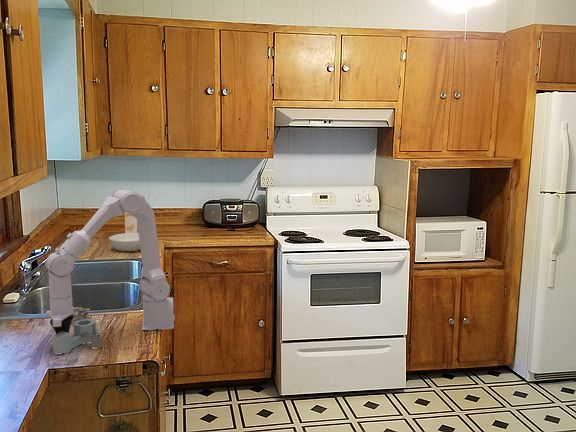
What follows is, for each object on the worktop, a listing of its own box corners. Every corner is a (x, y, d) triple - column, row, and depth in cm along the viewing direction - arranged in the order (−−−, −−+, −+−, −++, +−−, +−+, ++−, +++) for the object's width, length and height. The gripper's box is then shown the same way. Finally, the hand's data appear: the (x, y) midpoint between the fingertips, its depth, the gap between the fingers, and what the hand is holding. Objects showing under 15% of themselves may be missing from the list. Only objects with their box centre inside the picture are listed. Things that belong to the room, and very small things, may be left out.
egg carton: (49, 322, 171) (48, 309, 170) (66, 314, 178) (65, 302, 177) (76, 326, 167) (75, 313, 167) (92, 318, 174) (92, 306, 174)
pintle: (101, 339, 157) (100, 318, 156) (101, 341, 155) (100, 321, 154) (95, 339, 156) (94, 319, 155) (94, 342, 155) (93, 321, 154)
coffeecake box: (138, 242, 291) (137, 206, 288) (124, 241, 292) (123, 205, 288) (145, 236, 306) (145, 202, 303) (133, 236, 306) (132, 202, 303)
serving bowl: (109, 246, 279) (108, 233, 278) (151, 244, 286) (150, 231, 285) (109, 255, 260) (108, 241, 259) (154, 253, 266) (153, 239, 265)
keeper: (84, 345, 152) (83, 332, 151) (100, 347, 151) (99, 333, 150) (81, 347, 150) (80, 334, 150) (97, 349, 150) (96, 335, 149)
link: (83, 335, 159) (83, 318, 158) (98, 338, 157) (98, 320, 156) (49, 352, 147) (48, 333, 146) (65, 355, 145) (64, 336, 144)
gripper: (50, 288, 155) (53, 333, 158) (39, 304, 141) (42, 353, 144) (76, 287, 157) (78, 332, 159) (67, 303, 143) (70, 351, 145)
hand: (63, 342), depth 151 cm, fingers closed
